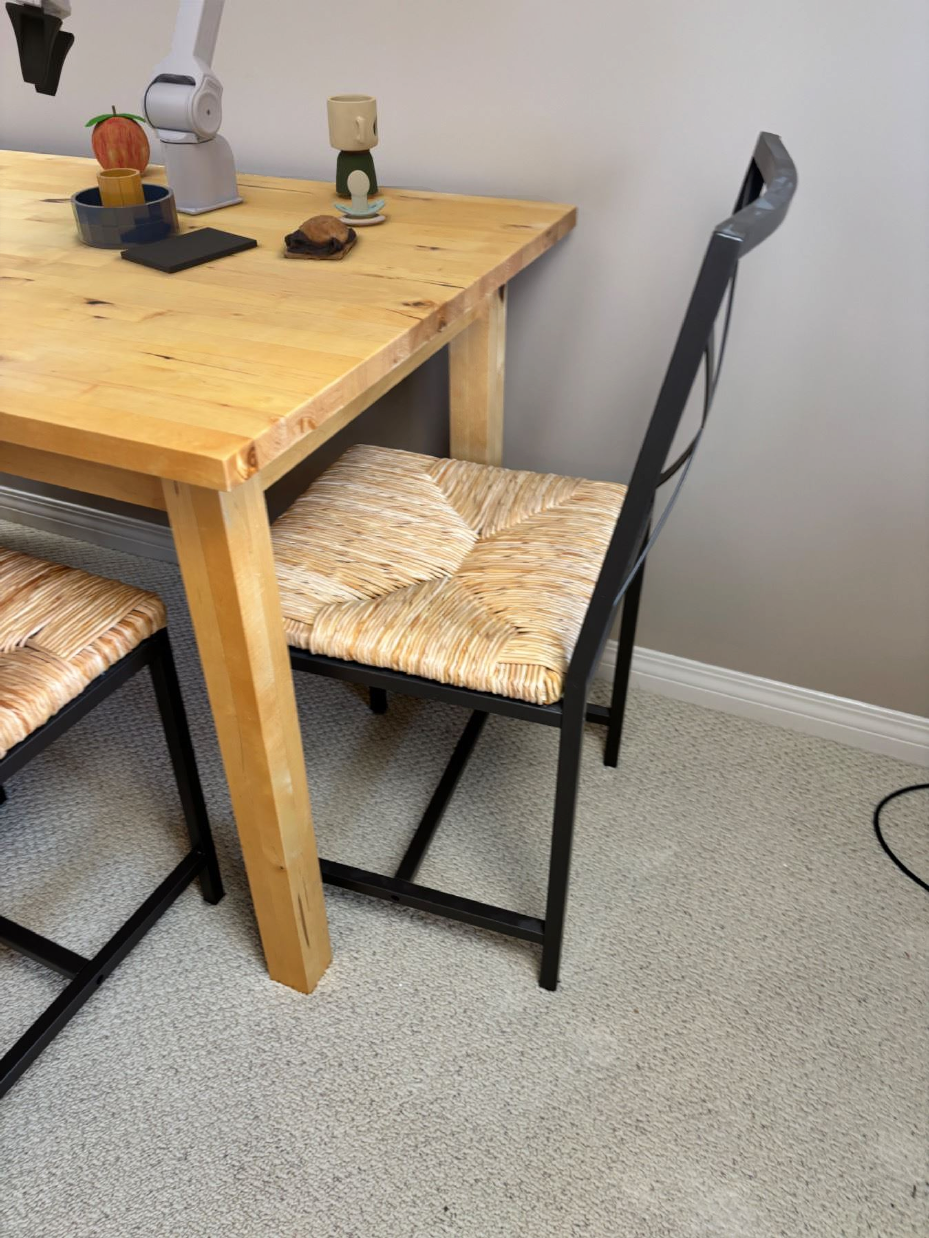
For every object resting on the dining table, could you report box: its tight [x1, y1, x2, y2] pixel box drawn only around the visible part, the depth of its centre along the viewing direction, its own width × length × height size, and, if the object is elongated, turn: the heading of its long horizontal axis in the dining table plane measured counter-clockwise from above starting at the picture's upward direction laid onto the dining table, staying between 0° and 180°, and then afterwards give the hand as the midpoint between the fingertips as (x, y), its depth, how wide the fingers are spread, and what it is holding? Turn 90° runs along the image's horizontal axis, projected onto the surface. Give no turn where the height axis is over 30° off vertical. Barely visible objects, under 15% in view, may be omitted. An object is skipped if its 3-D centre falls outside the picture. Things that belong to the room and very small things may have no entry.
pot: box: [70, 182, 181, 250], centre depth 123 cm, size 13×13×5 cm
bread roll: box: [283, 214, 358, 261], centre depth 120 cm, size 11×8×4 cm
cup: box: [96, 168, 146, 207], centre depth 122 cm, size 5×6×7 cm
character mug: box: [326, 93, 379, 196], centre depth 137 cm, size 11×7×13 cm, turn 22°
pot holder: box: [119, 226, 258, 274], centre depth 119 cm, size 14×10×1 cm
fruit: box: [84, 105, 151, 175], centre depth 147 cm, size 9×10×10 cm
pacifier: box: [332, 170, 387, 226], centre depth 128 cm, size 7×6×6 cm
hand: (39, 89), depth 109 cm, fingers open, 7 cm apart
